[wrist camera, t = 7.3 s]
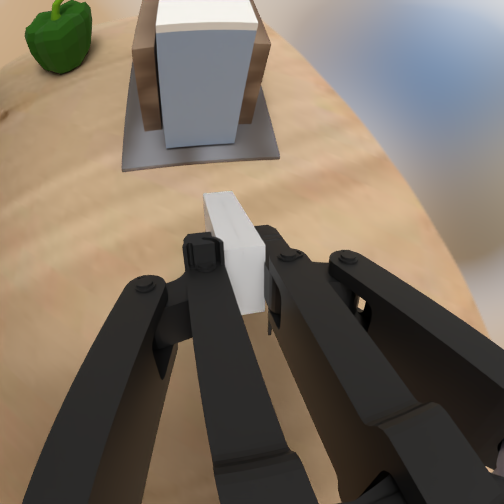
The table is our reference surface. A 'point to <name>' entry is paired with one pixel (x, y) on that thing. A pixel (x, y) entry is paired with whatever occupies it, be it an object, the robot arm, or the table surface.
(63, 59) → the bell pepper
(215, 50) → the white box
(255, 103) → the housing
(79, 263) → the table surface
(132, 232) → the table surface
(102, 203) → the table surface
